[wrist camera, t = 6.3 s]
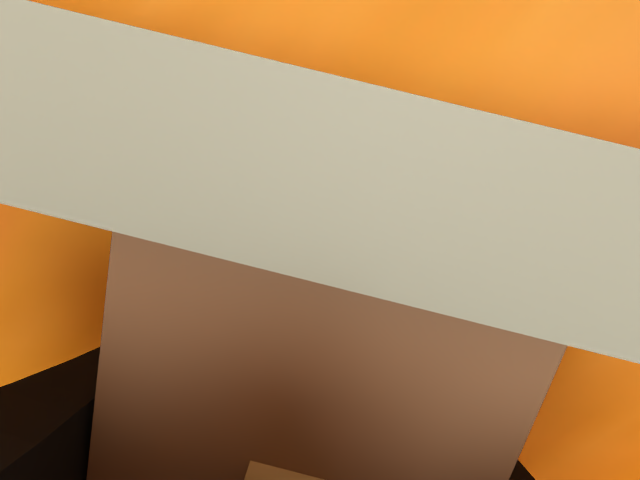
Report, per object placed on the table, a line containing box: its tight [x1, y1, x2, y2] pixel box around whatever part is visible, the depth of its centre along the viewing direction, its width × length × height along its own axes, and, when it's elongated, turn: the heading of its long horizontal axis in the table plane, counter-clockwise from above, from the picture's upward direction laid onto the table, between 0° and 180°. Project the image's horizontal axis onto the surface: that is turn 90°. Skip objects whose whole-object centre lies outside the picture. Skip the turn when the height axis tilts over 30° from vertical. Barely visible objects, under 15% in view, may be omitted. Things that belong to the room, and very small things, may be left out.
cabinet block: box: [86, 231, 567, 480], centre depth 9 cm, size 8×5×7 cm, turn 167°
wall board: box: [0, 0, 640, 364], centre depth 8 cm, size 9×16×7 cm, turn 77°
